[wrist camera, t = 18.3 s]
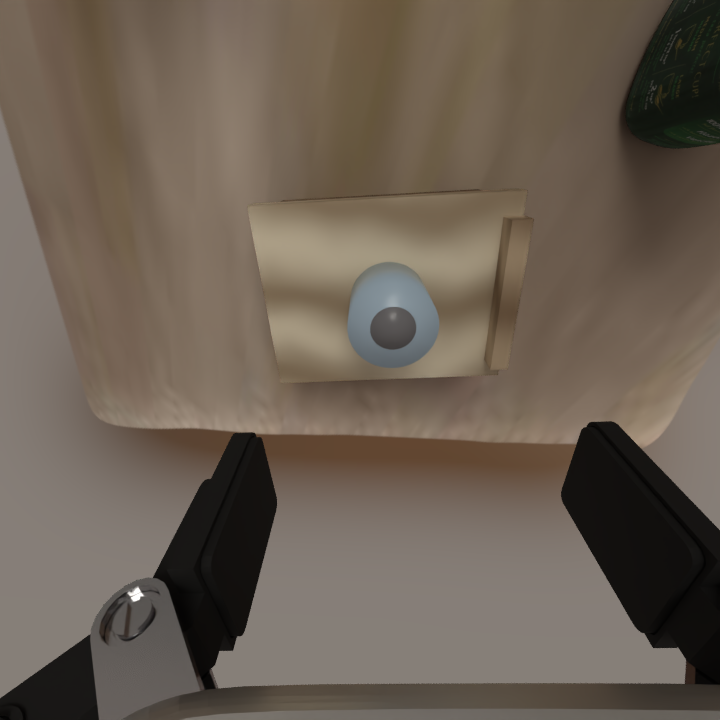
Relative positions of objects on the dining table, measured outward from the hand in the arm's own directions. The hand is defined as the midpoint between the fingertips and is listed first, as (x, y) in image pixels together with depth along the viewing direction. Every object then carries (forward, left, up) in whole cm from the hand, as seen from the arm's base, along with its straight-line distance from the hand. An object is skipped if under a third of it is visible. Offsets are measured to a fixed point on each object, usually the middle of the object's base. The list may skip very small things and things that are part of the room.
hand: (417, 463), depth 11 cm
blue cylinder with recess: (0, 0, -15) cm, 15 cm away
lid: (0, 0, -17) cm, 17 cm away
